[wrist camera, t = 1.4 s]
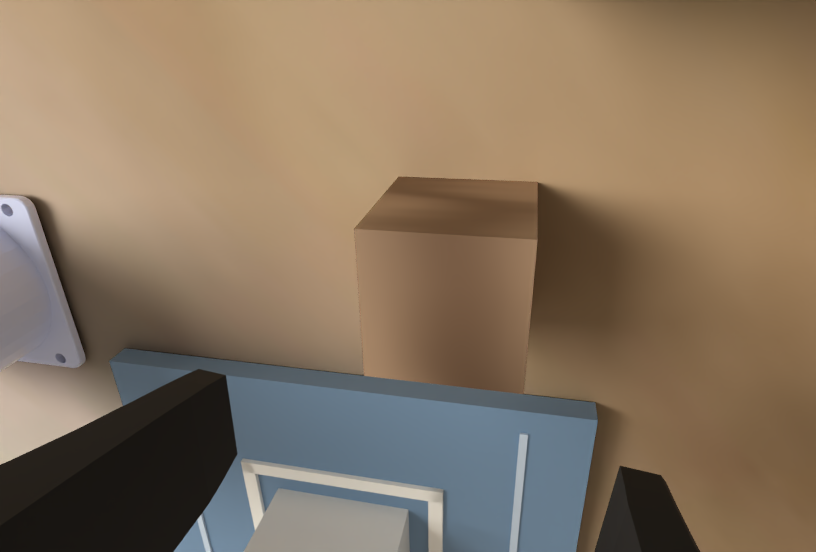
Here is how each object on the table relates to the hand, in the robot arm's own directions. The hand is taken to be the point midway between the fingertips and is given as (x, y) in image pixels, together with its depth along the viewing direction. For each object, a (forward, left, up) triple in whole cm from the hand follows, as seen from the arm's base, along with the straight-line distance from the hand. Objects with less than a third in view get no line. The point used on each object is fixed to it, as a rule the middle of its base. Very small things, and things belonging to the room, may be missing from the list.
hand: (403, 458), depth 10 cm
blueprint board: (-5, -15, -10) cm, 19 cm away
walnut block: (0, 0, -10) cm, 10 cm away
